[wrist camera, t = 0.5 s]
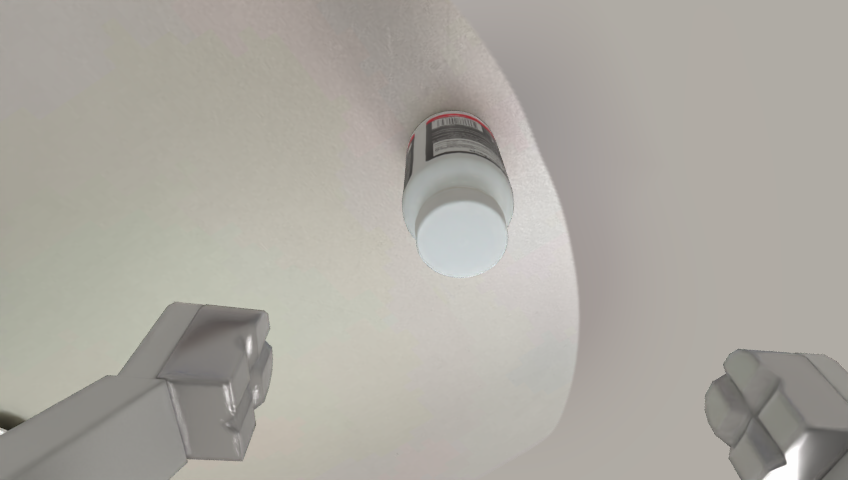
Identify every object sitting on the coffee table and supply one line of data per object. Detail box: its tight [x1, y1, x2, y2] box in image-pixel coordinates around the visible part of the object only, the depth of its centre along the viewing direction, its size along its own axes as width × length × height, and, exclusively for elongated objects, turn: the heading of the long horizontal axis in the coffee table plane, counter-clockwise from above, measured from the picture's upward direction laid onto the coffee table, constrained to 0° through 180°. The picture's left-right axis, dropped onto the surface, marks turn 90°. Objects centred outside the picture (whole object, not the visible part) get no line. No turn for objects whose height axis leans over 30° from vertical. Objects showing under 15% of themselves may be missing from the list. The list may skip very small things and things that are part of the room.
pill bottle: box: [402, 111, 514, 278], centre depth 25 cm, size 5×5×10 cm
